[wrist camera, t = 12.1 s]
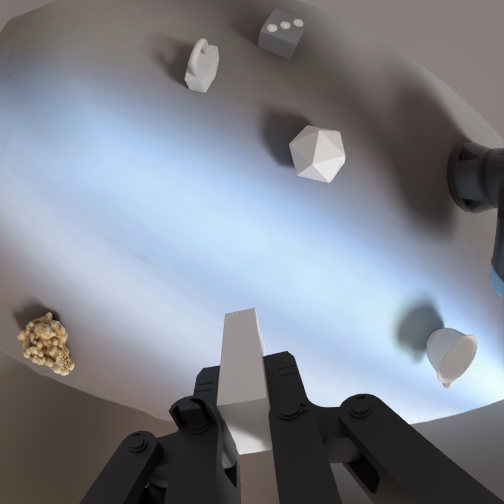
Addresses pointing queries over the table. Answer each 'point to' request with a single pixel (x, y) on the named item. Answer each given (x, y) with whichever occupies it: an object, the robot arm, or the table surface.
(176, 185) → the table surface
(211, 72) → the padlock
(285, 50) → the dotted block
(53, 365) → the mineral formation
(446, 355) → the teacup
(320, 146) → the die
